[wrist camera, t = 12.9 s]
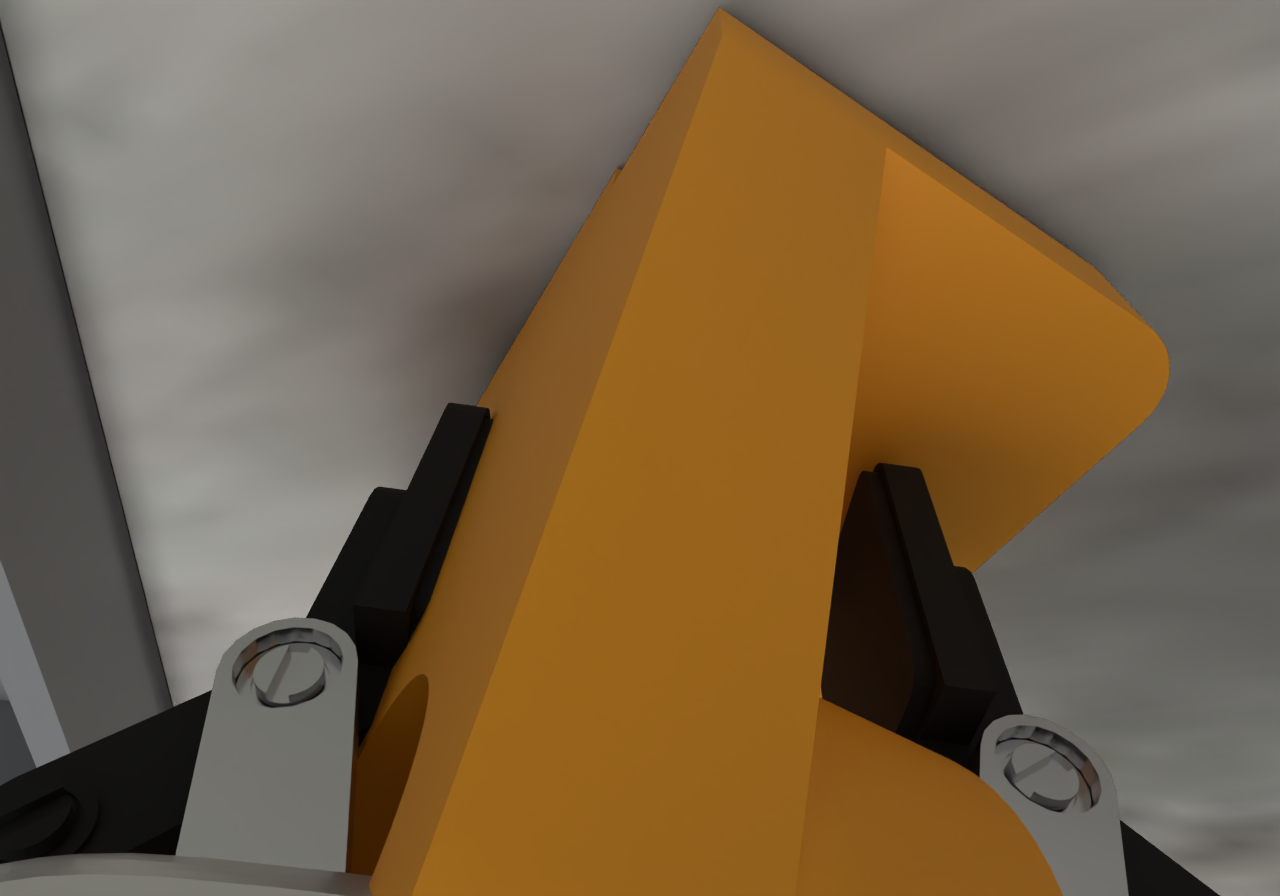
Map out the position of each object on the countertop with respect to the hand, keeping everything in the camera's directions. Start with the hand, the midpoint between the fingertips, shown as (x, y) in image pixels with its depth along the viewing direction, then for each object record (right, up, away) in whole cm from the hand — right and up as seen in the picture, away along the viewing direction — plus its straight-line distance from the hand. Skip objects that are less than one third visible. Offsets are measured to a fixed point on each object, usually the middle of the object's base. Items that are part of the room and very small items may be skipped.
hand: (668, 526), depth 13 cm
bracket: (+1, +2, +3) cm, 3 cm away
